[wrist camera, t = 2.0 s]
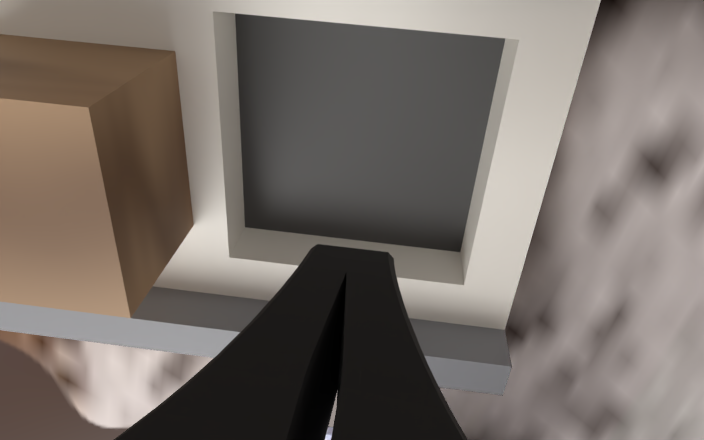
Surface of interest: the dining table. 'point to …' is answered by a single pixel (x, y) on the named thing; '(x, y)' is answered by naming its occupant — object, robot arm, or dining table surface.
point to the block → (89, 173)
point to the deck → (343, 157)
